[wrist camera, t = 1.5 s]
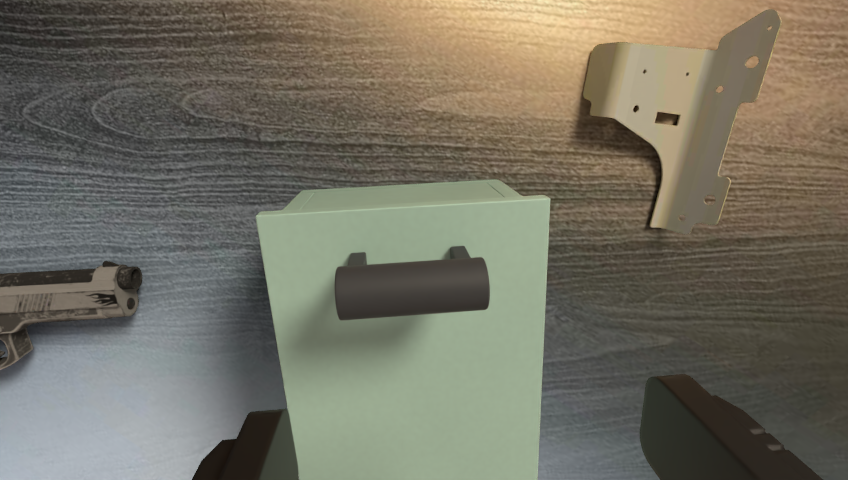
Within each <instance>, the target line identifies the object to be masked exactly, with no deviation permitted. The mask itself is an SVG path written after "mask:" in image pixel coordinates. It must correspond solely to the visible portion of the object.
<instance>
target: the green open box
mask: <svg viewBox="0 0 848 480" xmlns="http://www.w3.org/2000/svg"><path fill="white" fill-rule="evenodd" d="M518 196H521V195H520V194H518V193H517V192H515V191H514V190H513V189H511V188H510V187H508V186H507V185H506V184H504V183H503V182H501V181H500V180H498V179H495V180H477V181H459V182H442V183H424V184H406V185H388V186H371V187H353V188H335V189H317V190H302V191H301V192H300V193H299V194H298V195H297V196H296V197H295V198H294V199H293V200H292V201H291V202H290V203H289V204H288V205H287V206H286V207H285V208H284V209H283V210H297V209H314V208H331V207H348V206H365V205H382V204H399V203H416V202H433V201H450V200H467V199H484V198H501V197H518Z"/></svg>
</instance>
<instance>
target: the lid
mask: <svg viewBox="0 0 848 480" xmlns="http://www.w3.org/2000/svg"><path fill="white" fill-rule="evenodd" d="M549 215H550V198H548V197H547V196H545V195H535V196H518V197H501V198H484V199H467V200H450V201H433V202H416V203H399V204H382V205H365V206H348V207H331V208H314V209H297V210H280V211H263V212H260V213H259V214H257V215H256V223H257V229H258V235H259V241H260V247H261V253H262V259H263V265H264V271H265V277H266V283H267V289H268V295H269V301H270V307H271V313H272V319H273V325H274V331H275V337H276V343H277V349H278V355H279V361H280V366H281V372H282V378H283V384H284V390H285V396H286V402H287V408H288V413H289V416H290V422H291V428H292V433H293V439H294V445H295V451H296V457H297V462H298V474H299V480H537V475H538V453H539V432H540V410H541V388H542V367H543V345H544V323H545V302H546V280H547V258H548V237H549Z"/></svg>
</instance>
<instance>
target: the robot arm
mask: <svg viewBox="0 0 848 480" xmlns="http://www.w3.org/2000/svg"><path fill="white" fill-rule="evenodd" d="M640 442H641V446H642V450H643V453H644V455H645V457H646V459H647V461H648V463H649V464H650V466H651V467H652V469H653V470H654V471H655V473H656V474H657V475H658V477H659V478H660V480H823V479H821V478H820V477H819V476H818V475H817V474H816V473H815V472H813V471H812V470H811V469H810V468H809V467H808V466H807V465H805V464H804V463H803V462H802V461H801V460H800V459H798V458H797V457H796V456H795V455H794V454H793V453H792V452H790V451H789V450H785V449H784V445H782V444H781V443H780V442H779V441H778V440H777V439H775V438H774V437H773V436H772V435H771V434H770V433H768V434H767V433H766V432H765V429H764V428H763V427H762V426H760V425H759V424H758V423H757V422H756V421H755V420H754V419H752V418H751V417H750V416H749V415H748V414H747V413H746V412H744V411H743V410H741V409H740V408H738V407H736V406H734V405H732V404H730V403H729V402H727V401H725V400H723V399H721V398H720V397H718V396H711V395H710V394H709V393H708V392H707V391H706V390H705V389H704V388H703V387H701V386H700V385H699V384H698V383H697V382H696V381H695V380H694V379H693V378H691V377H690V376H688V375H686V374H679V375H668V376H657V377H650V378H649V379H648V380H647V383H646V387H645V395H644V403H643V411H642V419H641V427H640ZM192 480H298V462H297V457H296V451H295V445H294V439H293V433H292V428H291V422H290V416H289V413H288V411H287V409H278V410H266V411H255V412H250V413H249V414H248V415H247V417H246V419H245V421H244V424H243V426H242V428H241V430H240V432H239V435H238V437H237V439H231V440H222V441H221V442H220V443H219V444H218V445H217V446H216V447H215V448H214V449H213V450H212V451H211V452H210V453H209V454H208V455H207V456H206V457H205V458H204V459H203V460H202V461H201V463H200V465H199V467H198V469H197V471H196V473H195V475H194V477H193V478H192Z"/></svg>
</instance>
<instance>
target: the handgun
mask: <svg viewBox="0 0 848 480" xmlns="http://www.w3.org/2000/svg"><path fill="white" fill-rule="evenodd" d="M141 283H142V273H141V270H140V269H139V268H138V267H127V266H126V265H118V264H115V263H113V262H108V261H105V262H103V266H99V267H97V268H96V269H82V270H63V271H44V272H25V273H6V274H0V339H1V340H2V341H3V342H4V343H5V345H6V348H7V350H8V357H2V358H0V370H1V369H4V368H6V367H8V366H10V365H12V364H14V363H15V362H16V361H18V360H19V359H20V358H22V357H23V356H24V355H26V354H27V353H28V352H30V351H31V350H32V349H33V346H32V343H31V341H30V338H29V335H28V333H27V329H26V327H27V326H29V325H31V324H34V323H40V322H56V321H72V320H88V319H104V318H112V317H124V316H132V315H133V314H134V313H135V312H136V309H137V307H138V302H139V299H138V295H137V290H138V288H139V287H140V285H141ZM4 354H5V352H4V351H0V357H1V356H2V355H4Z"/></svg>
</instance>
